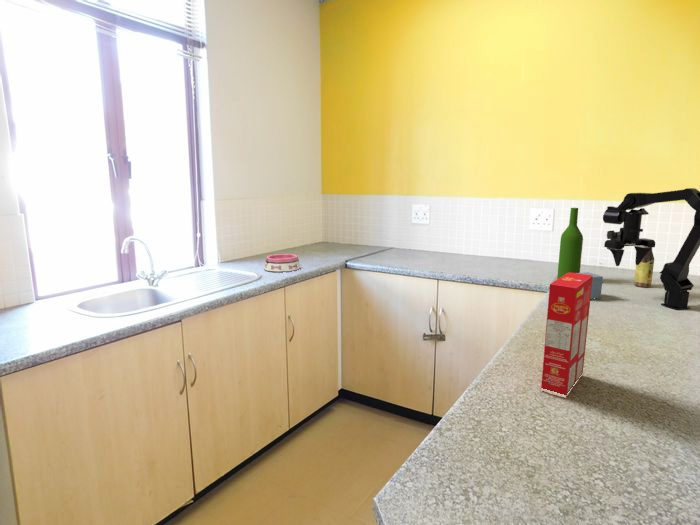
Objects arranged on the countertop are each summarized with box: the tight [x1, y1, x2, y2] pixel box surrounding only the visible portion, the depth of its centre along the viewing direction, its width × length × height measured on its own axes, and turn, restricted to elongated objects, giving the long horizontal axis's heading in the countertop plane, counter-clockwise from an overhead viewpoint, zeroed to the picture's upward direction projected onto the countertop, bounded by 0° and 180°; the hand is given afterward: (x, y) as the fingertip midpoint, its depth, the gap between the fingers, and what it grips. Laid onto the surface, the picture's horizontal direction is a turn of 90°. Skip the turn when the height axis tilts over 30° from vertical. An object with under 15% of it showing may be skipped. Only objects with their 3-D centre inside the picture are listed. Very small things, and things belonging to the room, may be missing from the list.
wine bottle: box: [556, 207, 584, 280], centre depth 202 cm, size 9×9×32 cm
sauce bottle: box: [633, 247, 655, 288], centre depth 193 cm, size 7×6×20 cm
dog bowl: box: [263, 253, 302, 274], centre depth 233 cm, size 18×19×7 cm
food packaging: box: [540, 272, 593, 395], centre depth 105 cm, size 15×5×25 cm, turn 141°
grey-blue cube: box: [578, 271, 604, 300], centre depth 178 cm, size 8×8×9 cm
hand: (627, 265), depth 179 cm, fingers open, 9 cm apart
